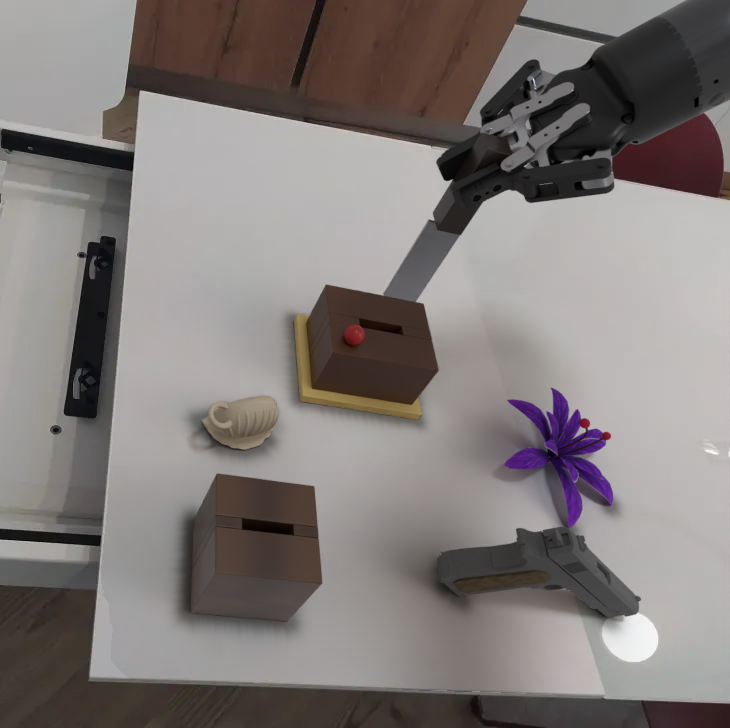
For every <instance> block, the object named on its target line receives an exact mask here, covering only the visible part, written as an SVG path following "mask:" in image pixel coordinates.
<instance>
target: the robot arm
mask: <svg viewBox="0 0 730 728" xmlns="http://www.w3.org/2000/svg"><path fill="white" fill-rule="evenodd" d="M729 101H730V0H683V1H682V2H680V3H678V4H676V5H675V6H673V7H671V8H668V9H667V10H666V11H664V12H662V13H660V14H658V15H656V16H654V17H651V18H650V19H649V20H647V21H645V22H643V23H640V24H639V25H637V26H635V27H633V28H632V29H630V30H628V31H626V32H624V33H623V34H621V35H618V36H617V37H615V38H613V39H611V40H609V41H608V42H606V43H604V44H602V45H600V46H598V47H597V48H596V49H595V50H594V51H593V52H592V54H591V56H590V57H589V59H587V61H586V62H585V63H584V64H582V65H581V66H578V67H575V68H571V69H566V70H562V71H560V72H558V73H556V74H554V73H552V72H549V71H546V70H542V68H541V63H540V61H539V60H538V59H529V60H528V61H526V62H524V64H522V65H521V67H520V68H518V70H517V71H516V72H515V73H514V74H513V75H512V76H511V77H510V78H509V79H508V80H507V81H506V82H505V83H504V84H503V85H502V86H501V88H499V90H497V92H496V93H495V94H494V95H493V96H492V97H491V98H490V99H489V100H488V101H487V102H486V103H485V104H484V105H483V106H482V108H480V110H479V115H480V118H481V119H480V121H481V122H480V123H481V128H480V129H479V131H478V132H477V133H476V134H474V135H472V136H470V137H468V138H467V139H465V140H463V141H461V142H459V143H458V144H455V145H454V146H451V147H450V148H448V149H446V150H445V151H443V153H441V154H440V156H439V157H438V158H437V160H436V161H435V164H436V167H437V169H438V171H439V173H440V175H441V177H442V179H443V181H446V182H450V181H452V180H453V178H454V177H455V175H456V173H457V172H458V170H459V169H460V167H461V165H462V164H463V162H464V160H465V159H466V157H467V155H468V154H469V152H470V151H471V149H472V147H473V146H474V144H475V142H476V141H477V139H478V137H479V136H480V134H481V133H482V132H483V133H486V134H490V135H494V136H498V137H502V138H506V139H507V140H508V142H509V145H510V148H511V150H515V149H517V148H519V149H518V150H517V151H515V152H513V154H512V155H510V156H509V157H507V158H506V159H504V160H503V161H502V162H501V166H499V167H498V165H497V164H496V162H495V163H493V164H491V165H489V166H487V167H485V168H483V169H481V170H479V171H477V172H475V173H473V174H471V175H470V176H468V177H466V178H464V179H462V180H460V181H458V182H456V183H454V184H453V185H452V186H451V187H450V192H451V194H452V196H453V199H454V201H455V203H456V205H457V207H459V208H464V207H466V206H467V208H468V207H473V206H476V205H478V204H480V203H481V202H483V203H484V202H487V200H490V199H492V198H494V197H496V196H498V195H500V194H502V193H504V192H506V191H511V192H517V193H519V194H520V195H522V196H523V198H524V200H525V201H526V202H527V203H529V204H534V203H542V202H543V203H544V202H550V201H551V202H552V201H559V200H567V199H575V198H582V197H591V196H598V195H605V194H609V193H611V192H612V191H613V190H614V189H615V175H614V169H613V158H615V157H616V156H617V155H619V154H620V153H621V152H622V150H623V149H624V148H626V146H628V145H629V144H631V145H641V144H643V143H646V142H648V141H649V140H652V139H654V138H655V137H657V136H659V135H662V134H664V133H666V132H668V131H670V130H672V129H674V128H676V127H677V126H680V125H682V124H685V123H686V122H688V121H690V120H692V119H694V118H696V117H699V116H701V115H702V114H705V113H706V112H709V111H710V110H713V109H715V108H716V107H719V106H721V105H723V104H725V103H727V102H729ZM527 122H528V123H529V126H530V127H529V128H527V125H526V123H527ZM511 131H512V132H511ZM508 132H510V133H508ZM504 134H506V135H504ZM502 135H503V136H502Z"/></svg>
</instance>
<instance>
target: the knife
mask: <svg viewBox="0 0 730 728" xmlns="http://www.w3.org/2000/svg"><path fill="white" fill-rule="evenodd" d="M502 137H503V136H502ZM502 137H498V136H494V135H490V134H486V133H483V132H482V133H481V134H480V136H479V137H478V139H477V141H476V142H475V144H474V146H473V147H472V149H471V151H470V152H469V154H468V155H467V157H466V159H465V160H464V162H463V164H462V165H461V167H460V169H459V170H458V172H457V173H456V175H455V177H454V178H453V179H452V180H451V182H450V183H449V185H448V187H447V188H446V190H445V192H444V193H443V195H442V197H441V198H440V200H439V201H438V203H437V204H436V206H435V208H434V209H433V211H432V216H433V219H429V218H428V219H427V221H426V223H425V224H424V226H423V227H422V229H421V231H420V233H419V234H418V236H417V237H416V239H415V241H414V243H413V244H412V246H411V247H410V249H409V251H408V252H407V254H406V255H405V257H404V259H403V260H402V262H401V263H400V265H399V267H398V268H397V270H396V271H395V273H394V275H393V277H392V278H391V280H390V282H389V283H388V285H387V287H386V288H385V289H384V292H383V296H388V297H393V298H398V299H403V300H408V301H414V302H418V299H419V298H420V297H421V295H422V294H423V293H424V291H425V289H426V287H427V286H428V285H429V283H430V281H431V280H432V279H433V277H434V275H435V274H436V272H437V271H438V270H439V268H440V266H441V265H442V263H443V262H444V260H445V259H446V257H447V256H448V254H449V253H450V251H451V250H452V249H453V247H454V246H455V244H456V242H457V241H458V240H459V238H460V237H461V236H462V235H463V233H464V231H465V230H466V228H467V227H468V225H469V224H470V222H471V221H472V220H473V218H474V216H475V215H476V213H478V211H479V209H480V207H481V206H482V205H483V203H484V202H481V203H480V204H478V205H476V206H473V207H468V208H467V206H466V207H464V208H459V207H457V205H456V203H455V201H454V199H453V196H452V194H451V192H450V187H451V186H452V185H453V184H454V183H456V182H458V181H460V180H462V179H464V178H466V177H468V176H470V175H471V174H473V173H475V172H477V171H479V170H481V169H483V168H485V167H487V166H489V165H491V164H493V163H495V162H496V164H497V165H498V167H499V166H501V162H502V161H503V160H504V159H506V158H507V157H509V156H510V155H512V154H514V152H513V151H512V150H513V149H512V150H511V148H510V145H509V142H508V140H507V139H506V138H502Z"/></svg>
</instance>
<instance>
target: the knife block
mask: <svg viewBox="0 0 730 728" xmlns="http://www.w3.org/2000/svg"><path fill="white" fill-rule="evenodd" d="M315 489H316V487H315V485H309V484H301V483H293V482H288V481H287V482H286V481H279V480H271V479H264V478H255V477H250V476H249V477H248V476H240V475H232V474H226V473H216V474H215V475H214V478H213V480H212V482H211V485H210V486H209V488H208V489H207V492H206V493H205V496H204V499H203V500H202V503H200V504H201V505H200V507H199V508H198V510H197V512H196V514H195V516H194V518H193V529H192V531H193V532H192V533H193V534H192V561H191V569H192V570H191V589H190V590H191V591H190V592H191V593H190V595H191V596H190V613H191V614H201V615H212V616H224V617H235V618H244V619H245V618H247V619H257V620H267V621H268V620H269V621H280V622H281V621H282V622H289V621H290V619H291V618H293V616H295V614H296V613H297V612H298V611H299V610H300V609H301V608H302V607H303V606H304V604H305V603H306V602H307V601H308V600H309V599H310V598H311V597H312V596H313V595H314V593H315V592H316V591H317V590H318V589H319V588H320V587H322V584H323V573H322V561H321V547H320V539H319V538H320V536H319V535H320V534H319V524H318V512H317V501H316V490H315Z"/></svg>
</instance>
